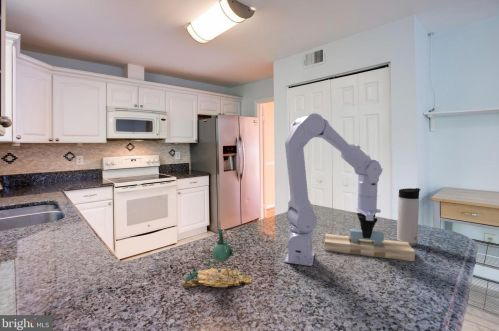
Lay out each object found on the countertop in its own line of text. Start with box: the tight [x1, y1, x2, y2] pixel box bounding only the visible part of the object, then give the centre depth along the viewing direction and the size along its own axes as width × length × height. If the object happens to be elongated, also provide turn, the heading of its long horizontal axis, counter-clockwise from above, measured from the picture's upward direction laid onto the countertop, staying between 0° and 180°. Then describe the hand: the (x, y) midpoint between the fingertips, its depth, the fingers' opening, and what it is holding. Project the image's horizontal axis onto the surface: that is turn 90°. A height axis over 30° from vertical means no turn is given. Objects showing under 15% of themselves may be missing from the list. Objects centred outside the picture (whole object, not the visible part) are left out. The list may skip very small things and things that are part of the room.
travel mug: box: [396, 187, 421, 247], centre depth 90 cm, size 6×7×20 cm
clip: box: [349, 228, 385, 245], centre depth 83 cm, size 2×10×6 cm, turn 71°
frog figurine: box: [181, 227, 253, 288], centre depth 64 cm, size 10×18×15 cm, turn 89°
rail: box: [324, 233, 416, 262], centre depth 84 cm, size 8×26×3 cm, turn 71°
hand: (366, 236), depth 83 cm, fingers closed on clip, 2 cm apart
